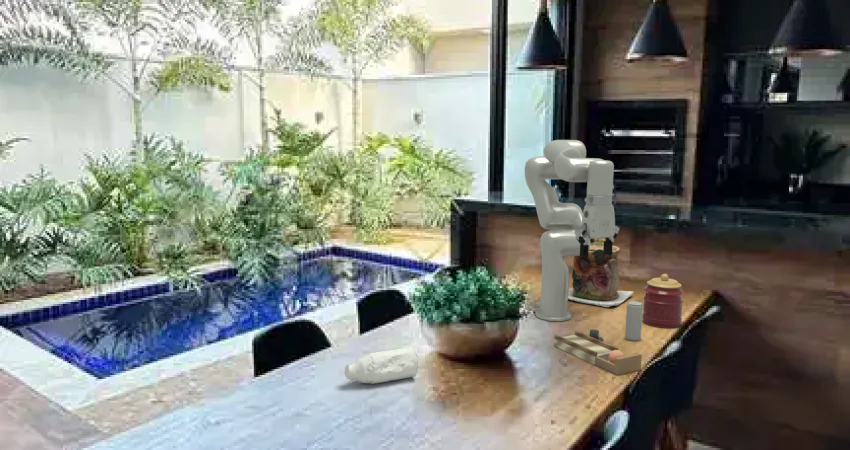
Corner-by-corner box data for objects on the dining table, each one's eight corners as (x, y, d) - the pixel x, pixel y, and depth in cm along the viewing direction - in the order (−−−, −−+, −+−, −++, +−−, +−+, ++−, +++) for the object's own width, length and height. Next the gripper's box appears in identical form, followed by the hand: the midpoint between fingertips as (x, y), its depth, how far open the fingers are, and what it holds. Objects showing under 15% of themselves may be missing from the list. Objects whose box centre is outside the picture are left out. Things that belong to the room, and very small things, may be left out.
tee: (580, 338, 209) (580, 329, 208) (594, 335, 211) (594, 326, 211) (593, 343, 203) (593, 334, 203) (607, 341, 206) (608, 332, 206)
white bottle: (341, 381, 171) (341, 353, 170) (406, 370, 179) (406, 343, 178) (351, 393, 164) (351, 362, 163) (418, 380, 172) (418, 352, 171)
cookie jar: (577, 287, 276) (581, 213, 271) (634, 296, 262) (639, 218, 257) (552, 299, 256) (556, 219, 252) (613, 310, 242) (618, 225, 237)
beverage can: (641, 341, 206) (643, 305, 204) (625, 340, 207) (627, 304, 205) (639, 337, 211) (641, 301, 209) (624, 336, 211) (626, 300, 210)
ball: (615, 369, 181) (617, 354, 180) (604, 363, 185) (605, 349, 184) (627, 366, 183) (628, 351, 182) (616, 361, 187) (617, 346, 186)
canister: (640, 325, 223) (643, 275, 220) (643, 315, 235) (646, 268, 232) (681, 330, 218) (684, 279, 216) (681, 320, 230) (685, 271, 227)
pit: (594, 364, 185) (595, 349, 185) (617, 359, 189) (618, 345, 189) (617, 375, 178) (618, 359, 177) (640, 369, 182) (641, 354, 181)
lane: (553, 345, 201) (554, 334, 200) (576, 341, 205) (576, 330, 205) (594, 364, 185) (595, 352, 185) (617, 359, 189) (618, 348, 189)
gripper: (585, 203, 190) (582, 260, 193) (628, 201, 198) (625, 255, 201) (568, 200, 196) (566, 255, 199) (611, 198, 205) (607, 251, 207)
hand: (595, 255), depth 200 cm, fingers open, 9 cm apart
